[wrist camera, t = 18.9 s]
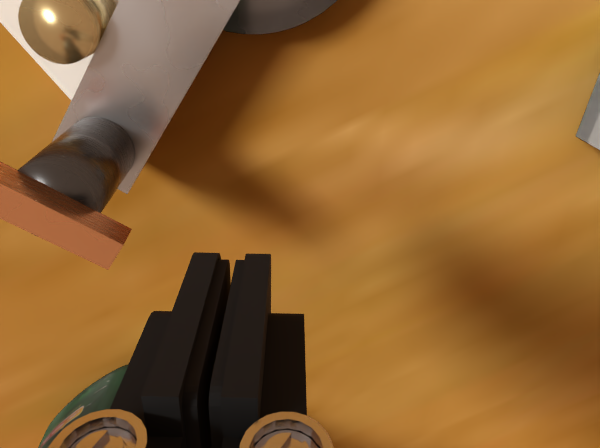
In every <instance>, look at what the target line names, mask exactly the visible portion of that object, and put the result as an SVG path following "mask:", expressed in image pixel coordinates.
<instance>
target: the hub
mask: <svg viewBox="0 0 600 448" xmlns="http://www.w3.org/2000/svg"><path fill="white" fill-rule="evenodd" d="M336 1H337V0H240V2H239V4H238V5H237V7H236V9H235V10H234V12H233V14H232V16H231V17H230V19H229V21H228V22H227V24H226V26H225V28H224V29H223V30H225V31H228V32H235V33H241V34H266V33H274V32H279V31H283V30H287V29H290V28H293V27H296V26H298V25H300V24H303V23H305V22H307V21H309V20H311V19H312V18H314V17H316V16H317V15H319V14H321V13H322V12H324V11H325V10H326V9H327V8H329V7H330V6H331V5H332V4H334V3H335V2H336Z"/></svg>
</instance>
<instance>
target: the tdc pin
mask: <svg viewBox="0 0 600 448" xmlns="http://www.w3.org/2000/svg"><path fill="white" fill-rule="evenodd" d="M115 8H116V4H115V2H114V1H113V0H22V2H21V4H20V7H19V13H18V20H19V26H20V30H21V32H22V35H23V37H24V39H25V40H26V42H27V43H28V45H29V46H30V47H31V48H32V49H33V50H34V51H35V52H36V53H37V54H38V55H40V56H41V57H43V58H44V59H46V60H48V61H51V62H53V63H57V64H72V63H76V62H78V61H80V60H82V59H84V58H86V57H88V56H90V55H92V54H94V52H95V50H96V48H97V46H98V44H99V42H100V40H101V38H102V36H103V34H104V31H105V29H106V27H107V25H108V23H109V21H110V19H111V17H112V15H113V12H114V10H115Z"/></svg>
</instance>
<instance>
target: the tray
mask: <svg viewBox="0 0 600 448" xmlns="http://www.w3.org/2000/svg"><path fill="white" fill-rule="evenodd" d="M576 137H578V138H580V139H582V140H583V141H585V142H587V143H589V144H590V145H592V146H594V147H595V148H597V149H599V150H600V74H599V76H598V79H597V82H596V84H595V87H594V90H593V92H592V95H591V97H590V100H589V103H588V105H587V108H586V110H585V113H584V116H583V118H582V121H581V124H580V126H579V129H578V131H577V134H576Z"/></svg>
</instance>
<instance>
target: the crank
mask: <svg viewBox="0 0 600 448" xmlns="http://www.w3.org/2000/svg"><path fill="white" fill-rule="evenodd" d="M239 2H240V0H119V2H118V4H117V6H116V8H115V10H114V12H113V15H112V17H111V19H110V21H109V23H108V25H107V27H106V29H105V31H104V34H103V36H102V38H101V40H100V42H99V44H98V46H97V48H96V50H95V52H94V55H93V57H92V59H91V61H90V63H89V65H88V67H87V69H86V71H85V74H84V76H83V78H82V80H81V82H80V84H79V86H78V88H77V90H76V93H75V95H74V97H73V99H72V101H71V103H70V105H69V107H68V109H67V111H66V114H65V116H64V118H63V120H62V122H61V124H60V126H59V128H58V130H57V133H56V135H55V137H54V139H53V141H52V143H50V144H49V145H48V146H47V147H46V148H44V149H43V150H42V151H41V152H39V153H38V154H37V155H36V156H35V157H33V158H32V159H31V160H30V161H28V162H27V163H26V164H25V165H24V166H22V167H21V168H20V169H19V170H16V169H14V168H12V167H10V166H8V165H6V164H4V163H2V162H0V219H2V220H5V221H7V222H9V223H11V224H13V225H15V226H17V227H19V228H21V229H23V230H26V231H28V232H30V233H32V234H34V235H35V236H38V237H40V238H42V239H44V240H47V241H49V242H51V243H53V244H55V245H57V246H59V247H61V248H63V249H65V250H67V251H70V252H72V253H74V254H76V255H78V256H80V257H82V258H84V259H86V260H88V261H91V262H93V263H95V264H97V265H99V266H101V267H103V268H105V269H107V270H108V269H109V268H110V266H111V264H112V263H113V261H114V260H115V258H116V256H117V255H118V253H119V251H120V250H121V248H122V246H123V245H124V243H125V241H126V239H127V237H128V235H129V233H130V231H131V230H132V229H130V228H129V227H127V226H125V225H123V224H121V223H119V222H117V221H115V220H113V219H111V218H109V217H107V216H105V215H103V214H101V212H102V210H103V209H104V207H105V206H106V204H107V203H108V202H109V200H110V199H111V197H112V196H113V194H114V193H115V191H116V190H117V189H119V190H121V191H123V192H125V193H126V194H128V192H129V191H130V189H131V187H132V186H133V184H134V183H135V181H136V179H137V177H138V176H139V174H140V172H141V171H142V169H143V167H144V165H145V164H146V162H147V160H148V159H149V157H150V155H151V153H152V152H153V150H154V148H155V146H156V145H157V143H158V141H159V140H160V138H161V136H162V134H163V133H164V131H165V129H166V128H167V126H168V124H169V122H170V121H171V119H172V117H173V115H174V114H175V112H176V110H177V109H178V107H179V105H180V103H181V102H182V100H183V98H184V97H185V95H186V93H187V91H188V90H189V88H190V86H191V84H192V83H193V81H194V79H195V78H196V76H197V74H198V72H199V71H200V69H201V67H202V66H203V64H204V62H205V60H206V59H207V57H208V55H209V53H210V52H211V50H212V48H213V47H214V45H215V43H216V41H217V40H218V38H219V36H220V35H221V33H222V31H223V29H224V28H225V26H226V24H227V22H228V21H229V19H230V17H231V16H232V14H233V12H234V10H235V9H236V7H237V5H238V4H239Z"/></svg>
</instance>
